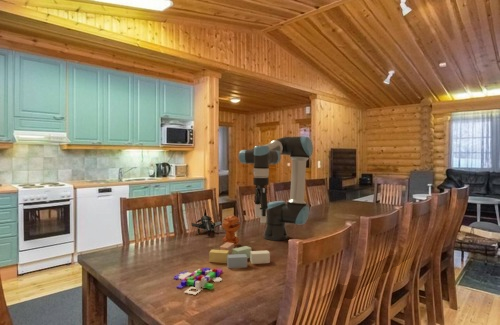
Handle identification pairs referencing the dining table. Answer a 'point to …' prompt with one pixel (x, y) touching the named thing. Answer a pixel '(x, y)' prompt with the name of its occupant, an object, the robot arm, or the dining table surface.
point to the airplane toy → (206, 224)
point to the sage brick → (242, 251)
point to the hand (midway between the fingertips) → (260, 219)
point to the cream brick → (259, 257)
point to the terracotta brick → (227, 247)
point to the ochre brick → (218, 256)
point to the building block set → (198, 279)
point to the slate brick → (237, 261)
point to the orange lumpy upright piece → (231, 229)
